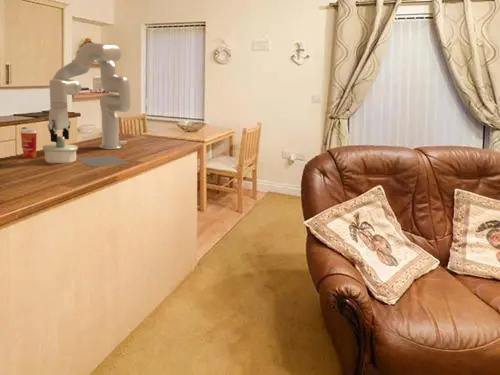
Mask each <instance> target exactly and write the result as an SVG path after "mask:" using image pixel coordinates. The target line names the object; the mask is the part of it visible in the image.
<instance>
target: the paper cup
mask: <svg viewBox="0 0 500 375" xmlns="http://www.w3.org/2000/svg"><path fill="white" fill-rule="evenodd" d="M19 132H20V137H21V145H22V154H23V158H25V159H34V158H37V133H38V131H37V130H36V129H35V128H21V129H20V131H19Z"/></svg>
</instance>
